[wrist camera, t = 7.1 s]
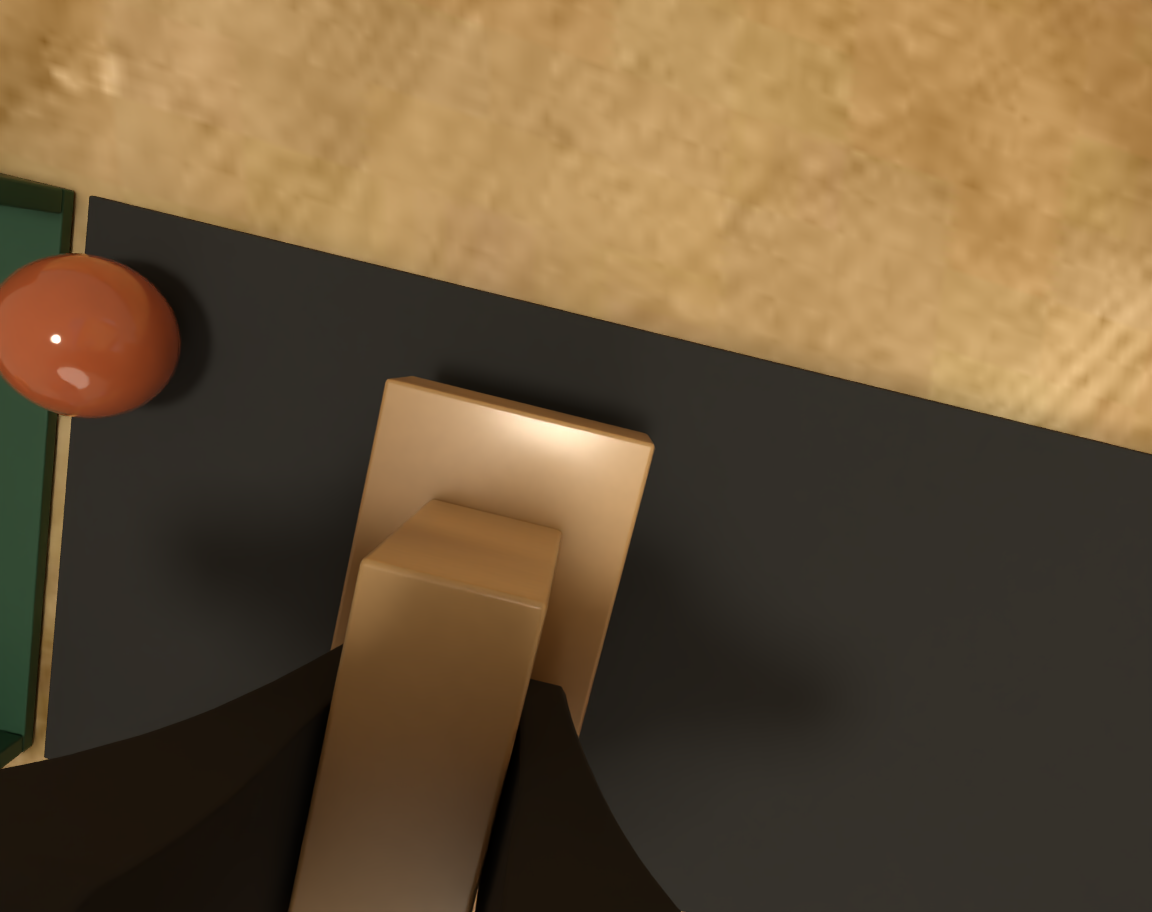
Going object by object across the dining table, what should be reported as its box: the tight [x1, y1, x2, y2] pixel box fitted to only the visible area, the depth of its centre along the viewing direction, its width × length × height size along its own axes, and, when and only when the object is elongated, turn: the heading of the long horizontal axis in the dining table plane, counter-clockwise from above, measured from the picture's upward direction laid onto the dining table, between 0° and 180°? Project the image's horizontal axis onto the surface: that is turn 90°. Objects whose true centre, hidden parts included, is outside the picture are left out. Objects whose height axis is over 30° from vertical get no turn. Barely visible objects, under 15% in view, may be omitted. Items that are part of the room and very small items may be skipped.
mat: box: [44, 196, 1152, 912], centre depth 16 cm, size 13×26×1 cm, turn 77°
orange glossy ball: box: [0, 253, 181, 419], centre depth 13 cm, size 3×3×3 cm
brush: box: [288, 376, 655, 912], centre depth 12 cm, size 10×4×6 cm, turn 166°
